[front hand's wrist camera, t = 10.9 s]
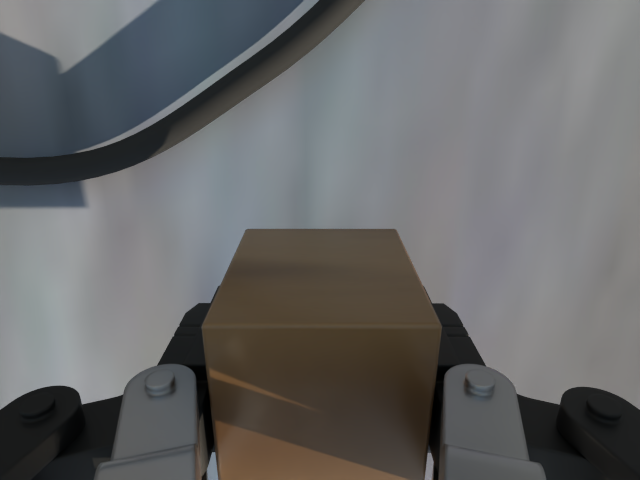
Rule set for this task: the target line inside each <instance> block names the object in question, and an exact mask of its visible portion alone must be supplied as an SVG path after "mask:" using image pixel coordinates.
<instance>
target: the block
mask: <svg viewBox="0 0 640 480" xmlns="http://www.w3.org/2000/svg"><path fill="white" fill-rule="evenodd" d="M441 331H442V326H441V323H440V321H439V319H438V317H437V315H436V313H435V311H434V308H433V306H432V304H431V302H430V300H429V298H428V296H427V294H426V291H425V289H424V287H423V285H422V283H421V281H420V279H419V277H418V275H417V272H416V270H415V268H414V266H413V264H412V262H411V260H410V258H409V256H408V253H407V251H406V249H405V247H404V245H403V243H402V241H401V239H400V236H399V234H398V232H397V230H395V229H247V230H246V231H245V233H244V235H243V237H242V239H241V242H240V244H239V246H238V248H237V250H236V252H235V255H234V257H233V259H232V261H231V263H230V265H229V268H228V270H227V272H226V274H225V276H224V279H223V281H222V283H221V285H220V287H219V289H218V292H217V294H216V296H215V298H214V300H213V302H212V305H211V307H210V309H209V311H208V313H207V316H206V318H205V320H204V322H203V324H202V336H203V345H204V354H205V363H206V372H207V381H208V390H209V399H210V408H211V417H212V426H213V435H214V444H215V453H216V463H217V472H218V480H425V471H426V462H427V453H428V445H429V436H430V427H431V418H432V410H433V401H434V392H435V383H436V375H437V366H438V357H439V348H440V340H441Z"/></svg>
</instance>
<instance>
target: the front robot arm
mask: <svg viewBox="0 0 640 480" xmlns="http://www.w3.org/2000/svg"><path fill="white" fill-rule="evenodd" d="M364 1H365V0H319V1H318V2H317V3H316V4H315V5H314V6H313V7H312V8H311V9H310V10H309V11H308V12H307V13H306V14H304V15H303V16H302V17H301V18H300V19H299V20H298V21H296V22H295V23H294V24H293V25H292V26H291V27H290V28H288V29H287V30H286V31H285V32H283V33H282V34H281V35H280V36H279V37H277V38H276V39H275V40H274V41H272V42H271V43H270V44H268V45H267V46H266V47H264V48H263V49H262V50H260V51H259V52H257V53H256V54H255V55H253V56H252V57H251V58H249V59H248V60H246V61H245V62H244V63H242V64H241V65H239V66H238V67H236V68H235V69H234V70H232V71H231V72H229V73H228V74H227V75H225V76H224V77H222V78H221V79H220V80H218V81H217V82H215V83H214V84H213V85H211V86H210V87H208V88H207V89H206V90H204V91H203V92H201V93H200V94H199V95H197V96H196V97H194V98H193V99H191V100H190V101H189V102H187V103H186V104H184V105H183V106H181V107H180V108H178V109H177V110H175V111H174V112H172V113H171V114H169V115H168V116H166V117H165V118H163V119H161V120H160V121H158V122H156V123H155V124H153V125H151V126H149V127H148V128H146V129H144V130H142V131H140V132H138V133H136V134H134V135H132V136H130V137H127V138H125V139H123V140H121V141H118V142H116V143H113V144H110V145H107V146H104V147H101V148H97V149H94V150H90V151H85V152H80V153H75V154H69V155H62V156H54V157H38V158H7V157H0V185H44V184H58V183H66V182H74V181H80V180H85V179H90V178H95V177H99V176H103V175H106V174H110V173H114V172H117V171H120V170H122V169H125V168H128V167H131V166H134V165H136V164H138V163H140V162H143V161H145V160H147V159H149V158H152V157H154V156H156V155H158V154H160V153H161V152H163V151H165V150H167V149H169V148H171V147H173V146H174V145H176V144H178V143H179V142H181V141H183V140H184V139H186V138H188V137H189V136H191V135H192V134H194V133H195V132H197V131H199V130H200V129H202V128H203V127H205V126H206V125H207V124H209V123H210V122H212V121H213V120H215V119H216V118H218V117H219V116H221V115H222V114H224V113H225V112H226V111H228V110H229V109H231V108H232V107H234V106H235V105H236V104H238V103H239V102H241V101H242V100H244V99H245V98H247V97H248V96H249V95H251V94H252V93H254V92H255V91H257V90H258V89H260V88H261V87H263V86H264V85H266V84H267V83H268V82H270V81H271V80H273V79H274V78H275V77H277V76H278V75H280V74H281V73H282V72H284V71H285V70H287V69H288V68H289V67H291V66H292V65H293V64H294V63H296V62H297V61H298V60H300V59H301V58H302V57H303V56H305V55H306V54H307V53H308V52H310V51H311V50H312V49H313V48H314V47H315V46H317V45H318V44H319V43H320V42H321V41H322V40H324V39H325V38H326V37H327V36H328V35H329V34H330V33H331V32H332V31H334V30H335V29H336V28H337V27H338V26H339V25H340V24H341V23H342V22H343V21H344V20H345V19H346V18H347V17H348V16H349V15H350V14H351V13H352V12H354V11H355V10H356V9H357V8H358V7H359V6H360V5H361V4H362V3H363V2H364ZM219 287H220V286H218V288H217V290H216V292H215V294H214V297H213V299H212V301H211V303H198V304H197V305H196V306H194V307H193V308H192V309H191V310H189V311H188V312H187V313H186V314H185V315H184V317H183V319H182V321H181V323H180V326H179V327H178V328H177V330H176V332H175V334H174V337H172V339H171V341H170V343H169V345H168V347H167V348H166V350H165V352H164V354H163V356H162V358H161V359H160V361H159V363H158V365H157V366H154V367H151V368H148V369H146V370H144V371H142V372H140V373H139V374H137V375H136V376H134V377H133V378H132V379H131V380H130V381H129V382H128V384H127V385H126V387H125V390H124V394H123V395H121V396H118V397H114V398H110V399H105V400H101V401H96V402H92V403H87V404H83V405H82V403H81V399H80V395H79V393H78V392H77V391H76V390H75V389H73V388H71V387H67V386H50V387H44V388H40V389H37V390H34V391H31V392H29V393H27V394H24V395H22V396H21V397H19V398H17V399H15V400H14V401H12V402H11V403H9V404H8V405H7V406H5V407H4V408H2V409H1V410H0V480H208V473H207V467H208V464H209V461H210V457H211V454H212V452H215V444H214V435H213V426H212V417H211V408H210V399H209V390H208V381H207V372H206V363H205V354H204V345H203V336H202V324H203V322H204V320H205V318H206V316H207V313H208V311H209V309H210V307H211V305H212V302H213V300H214V298H215V296H216V294H217V292H218V289H219ZM423 287H424V286H423ZM424 289H425V288H424ZM425 291H426V290H425ZM426 294H427V292H426ZM427 296H428V294H427ZM428 298H429V296H428ZM429 300H430V298H429ZM430 302H431V300H430ZM431 304H432V302H431ZM432 306H433V308H434V311H435V313H436V315H437V317H438V319H439V321H440V323H441V326H442V331H441V340H440V348H439V357H438V366H437V375H436V383H435V392H434V401H433V410H432V418H431V427H430V436H429V445H428V453H431V454H432V457H433V461H434V465H433V473H432V480H640V410H639V409H638V408H636V407H635V406H633V405H632V404H631V403H629V402H628V401H626V400H624V399H623V398H621V397H619V396H617V395H615V394H612V393H610V392H607V391H604V390H600V389H597V388H591V387H576V388H571V389H569V390H567V391H566V392H565V393H564V394H563V395H562V398H561V402H560V405H558V404H554V403H549V402H545V401H540V400H535V399H531V398H527V397H524V396H521V395H518V394H516V390H515V387H514V385H513V384H512V382H511V381H510V380H509V379H508V378H507V377H506V376H504V375H503V374H501V373H500V372H498V371H496V370H494V369H492V368H489V367H486V365H485V363H484V362H483V360H482V358H481V356H480V354H479V353H478V351H477V349H476V347H475V345H474V344H473V342H472V340H471V338H470V337H469V336H468V333H467V331H466V329H465V327H463V324H462V322H461V320H460V318H459V317H458V315H457V313H456V312H454V311H453V310H452V309H450V308H449V307H448V306H446V305H445V304H432Z"/></svg>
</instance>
